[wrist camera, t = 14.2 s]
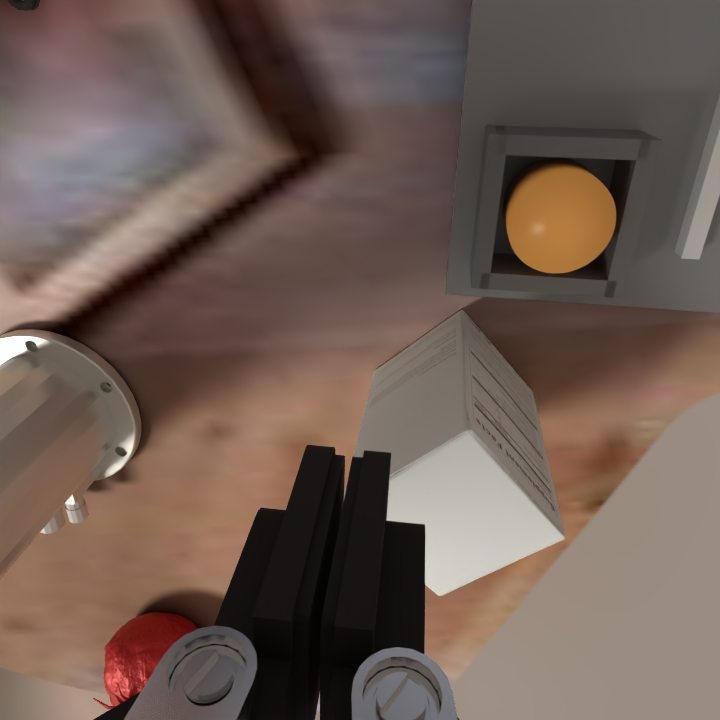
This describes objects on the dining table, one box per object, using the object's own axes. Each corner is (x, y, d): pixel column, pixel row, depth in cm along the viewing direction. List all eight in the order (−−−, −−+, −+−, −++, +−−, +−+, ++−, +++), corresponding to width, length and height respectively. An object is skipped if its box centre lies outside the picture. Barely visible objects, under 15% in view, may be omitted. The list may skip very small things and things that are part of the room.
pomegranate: (199, 591, 51) (152, 693, 43) (241, 664, 55) (206, 771, 47) (104, 601, 53) (42, 700, 45) (151, 671, 57) (102, 773, 49)
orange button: (589, 254, 28) (603, 276, 25) (497, 249, 28) (501, 270, 26) (610, 159, 26) (627, 173, 23) (509, 155, 26) (515, 168, 24)
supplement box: (441, 445, 39) (435, 602, 28) (371, 368, 37) (334, 506, 26) (536, 391, 36) (571, 543, 25) (465, 303, 34) (469, 428, 23)
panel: (784, 296, 31) (849, 347, 26) (446, 274, 33) (444, 317, 28) (1066, -413, 19) (1296, -584, 14) (506, -374, 21) (521, -509, 16)
